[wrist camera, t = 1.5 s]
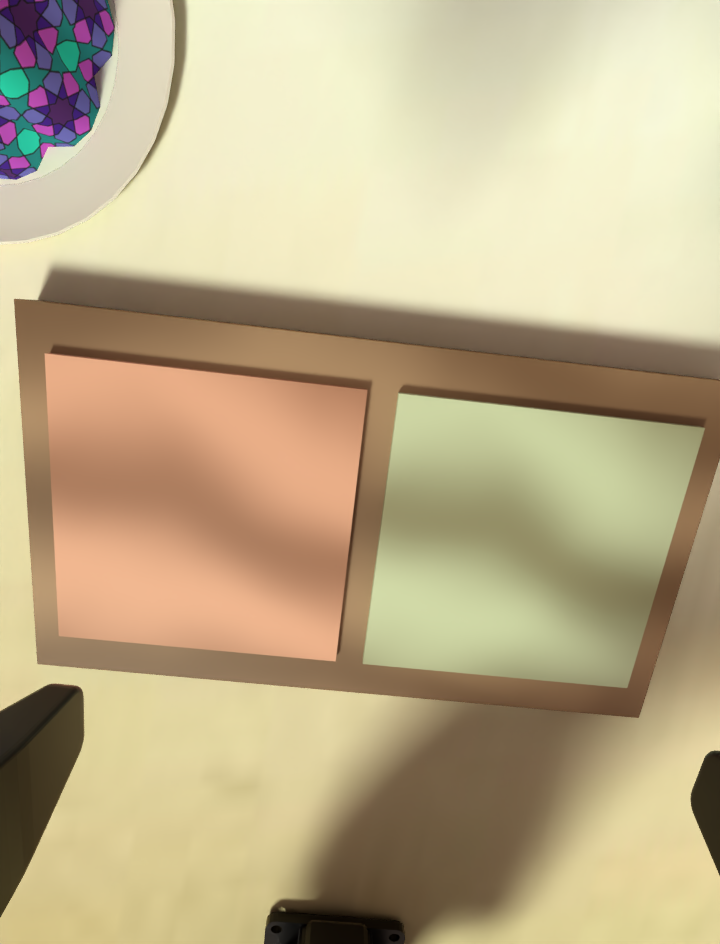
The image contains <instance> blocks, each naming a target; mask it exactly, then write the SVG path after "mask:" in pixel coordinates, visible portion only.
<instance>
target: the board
mask: <svg viewBox="0 0 720 944" xmlns="http://www.w3.org/2000/svg"><path fill="white" fill-rule="evenodd" d="M14 305H15V321H16V336H17V352H18V367H19V383H20V398H21V414H22V430H23V445H24V461H25V476H26V492H27V507H28V523H29V539H30V554H31V570H32V585H33V601H34V617H35V632H36V648H37V663H38V664H44V665H55V666H66V667H77V668H88V669H99V670H111V671H122V672H133V673H144V674H155V675H166V676H178V677H189V678H200V679H211V680H222V681H233V682H245V683H256V684H267V685H278V686H289V687H300V688H312V689H323V690H334V691H345V692H356V693H368V694H379V695H390V696H401V697H412V698H423V699H435V700H446V701H457V702H468V703H479V704H490V705H502V706H513V707H524V708H535V709H546V710H557V711H569V712H580V713H591V714H602V715H613V716H625V717H636V718H639V715H640V712H641V709H642V706H643V702H644V699H645V696H646V693H647V690H648V686H649V683H650V680H651V677H652V674H653V670H654V667H655V664H656V661H657V658H658V654H659V651H660V648H661V645H662V642H663V638H664V635H665V632H666V629H667V626H668V622H669V619H670V616H671V613H672V610H673V606H674V603H675V600H676V597H677V594H678V590H679V587H680V584H681V581H682V577H683V574H684V571H685V568H686V565H687V561H688V558H689V555H690V552H691V549H692V545H693V542H694V539H695V536H696V533H697V529H698V526H699V523H700V520H701V517H702V513H703V510H704V507H705V504H706V501H707V497H708V494H709V491H710V488H711V485H712V481H713V478H714V475H715V472H716V469H717V465H718V462H719V459H720V380H715V379H707V378H698V377H690V376H681V375H673V374H664V373H656V372H647V371H638V370H630V369H621V368H613V367H604V366H596V365H587V364H579V363H570V362H561V361H553V360H544V359H536V358H527V357H519V356H510V355H502V354H493V353H484V352H476V351H467V350H459V349H450V348H442V347H433V346H424V345H416V344H407V343H399V342H390V341H382V340H373V339H365V338H356V337H347V336H339V335H330V334H322V333H313V332H305V331H296V330H288V329H279V328H270V327H262V326H253V325H245V324H236V323H228V322H219V321H211V320H202V319H193V318H185V317H176V316H168V315H159V314H151V313H142V312H134V311H125V310H116V309H108V308H99V307H91V306H82V305H74V304H65V303H57V302H48V301H39V300H24V299H14Z"/></svg>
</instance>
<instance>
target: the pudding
mask: <svg viewBox="0 0 720 944" xmlns="http://www.w3.org/2000/svg"><path fill="white" fill-rule="evenodd" d="M114 5H115V11H116V18H117V24H118V63H117V70H116V77H115V84H114V88H113V91H112V94H111V97H110V100H109V104H108V107H107V110H106V112H105V114H104V116H103V118H102V120H101V122H100V123H99V125H98V127H97V129H96V131H95V133H94V134H93V135H92V137H91V138H90V139H89V140H88V142H87V143H86V144H85V145H84V147H83V148H82V149H81V150H80V152H79V153H77V154H76V155H75V156H74V157H73V158H71V159H70V160H69V161H68V162H66V163H65V164H64V165H63V166H62V167H60V168H58V169H56V170H54V171H52V172H50V173H49V174H47V175H45V176H43V177H41V178H38V179H34V180H30V181H27V182H23V183H19V184H9V185H0V245H1V244H17V243H29V242H32V241H36V240H40V239H44V238H48V237H51V236H55V235H59V234H61V233H63V232H65V231H67V230H69V229H71V228H73V227H75V226H77V225H79V224H81V223H83V222H85V221H87V220H89V219H90V218H91V217H93V216H94V215H95V214H96V213H98V212H99V211H100V210H102V209H103V208H104V207H105V206H107V205H108V204H109V203H110V202H112V201H113V200H114V199H115V198H116V197H117V196H118V195H119V193H120V192H121V191H122V190H123V189H124V188H125V186H126V185H127V184H128V183H129V182H130V180H131V179H132V178H133V177H134V176H135V175H136V173H137V172H138V170H139V168H140V167H141V165H142V163H143V161H144V159H145V158H146V156H147V154H148V152H149V151H150V149H151V147H152V145H153V144H154V142H155V139H156V136H157V133H158V131H159V128H160V125H161V122H162V119H163V116H164V113H165V111H166V108H167V105H168V99H169V93H170V87H171V81H172V76H173V70H174V59H175V16H174V9H173V1H172V0H114ZM113 38H114V23H113V19H112V15H111V11H110V7H109V4H108V0H0V178H2V179H19V178H21V177H23V176H26V175H28V174H30V173H33V172H35V171H37V169H38V167H39V165H40V163H41V161H42V159H43V156H44V154H45V152H46V150H47V148H48V147H61V146H75V145H76V144H77V143H78V142H79V141H80V140H81V139H82V138H83V137H84V136H86V135H87V134H88V133H89V132H90V131H91V129H92V127H93V124H94V121H95V119H96V116H97V114H98V111H99V108H100V104H99V99H98V94H97V89H96V84H95V79H94V75H95V74H96V73H97V72H98V71H99V70H100V68H101V67H102V66H103V65H104V64H105V63H106V62H107V60H108V59H109V58H110V57H111V56H112V49H113Z"/></svg>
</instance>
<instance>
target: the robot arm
mask: <svg viewBox="0 0 720 944" xmlns="http://www.w3.org/2000/svg"><path fill="white" fill-rule="evenodd" d="M83 740H84V698H83V692H82V689H81V688H80V687H78V686H74V685H64V684H49V685H47V686H44V687H43V688H41V689H39V690H37V691H35V692H34V693H32V694H30V695H28V696H26V697H25V698H23V699H21V700H19V701H17V702H16V703H14V704H12V705H10V706H8V707H7V708H5V709H3V710H1V711H0V917H1V915H2V913H3V912H4V910H5V908H6V906H7V905H8V903H9V901H10V899H11V898H12V896H13V894H14V892H15V890H16V888H17V887H18V885H19V883H20V881H21V879H22V877H23V876H24V874H25V872H26V869H27V867H28V865H29V863H30V861H31V859H32V857H33V855H34V853H35V851H36V848H37V846H38V844H39V842H40V840H41V837H42V835H43V833H44V831H45V829H46V826H47V824H48V822H49V820H50V818H51V815H52V813H53V811H54V809H55V807H56V804H57V802H58V800H59V798H60V795H61V793H62V791H63V789H64V787H65V784H66V782H67V780H68V778H69V776H70V773H71V771H72V769H73V767H74V765H75V762H76V760H77V758H78V756H79V753H80V751H81V748H82V744H83ZM691 806H692V811H693V814H694V816H695V818H696V821H697V823H698V826H699V828H700V830H701V833H702V835H703V837H704V840H705V842H706V844H707V847H708V849H709V851H710V854H711V856H712V859H713V861H714V863H715V866H716V868H717V870H718V873H719V875H720V751H711V752H709V753H708V754H707V755H706V756H705V758H704V761H703V763H702V766H701V769H700V771H699V774H698V776H697V779H696V781H695V784H694V787H693V789H692V792H691ZM404 941H405V933H404V926H403V924H402V923H401V922H399V921H392V920H379V919H365V918H351V917H337V916H323V915H309V914H295V913H282V912H275V913H272V914H270V915H269V916H268V917H267V921H266V928H265V939H264V944H404Z"/></svg>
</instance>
